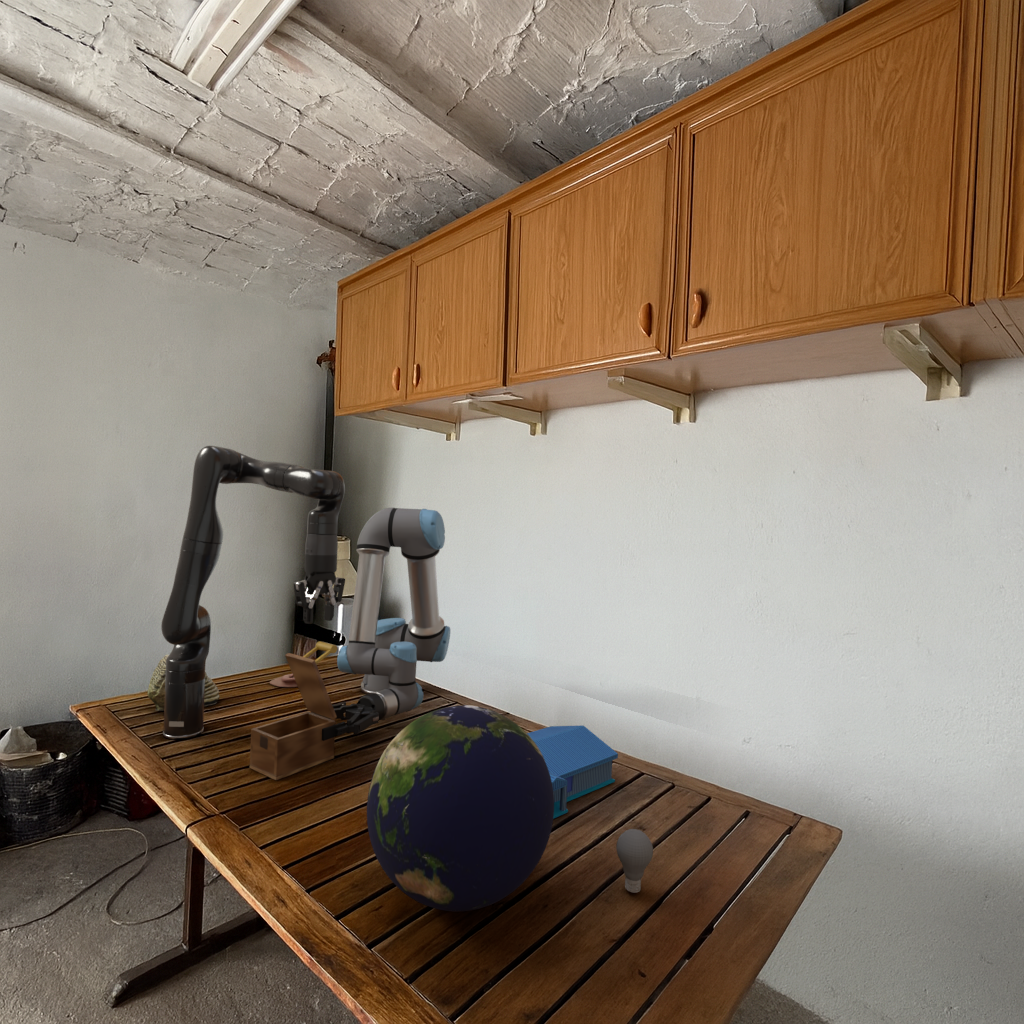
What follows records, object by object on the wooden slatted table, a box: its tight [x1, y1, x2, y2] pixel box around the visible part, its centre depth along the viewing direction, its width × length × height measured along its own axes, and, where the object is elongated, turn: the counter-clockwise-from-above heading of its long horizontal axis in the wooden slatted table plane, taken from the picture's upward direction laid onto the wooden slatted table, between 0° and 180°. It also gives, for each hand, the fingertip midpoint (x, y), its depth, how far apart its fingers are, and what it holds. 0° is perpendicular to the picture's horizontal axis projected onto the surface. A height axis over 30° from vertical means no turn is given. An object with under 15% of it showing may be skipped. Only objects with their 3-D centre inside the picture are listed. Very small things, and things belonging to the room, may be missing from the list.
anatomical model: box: [269, 672, 298, 688], centre depth 212 cm, size 13×4×12 cm
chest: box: [248, 711, 336, 781], centre depth 150 cm, size 16×10×9 cm, turn 146°
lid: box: [284, 640, 338, 721], centre depth 156 cm, size 17×10×9 cm
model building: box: [526, 725, 619, 820], centre depth 140 cm, size 39×24×10 cm, turn 132°
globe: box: [366, 704, 554, 913], centre depth 102 cm, size 30×30×30 cm
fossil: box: [147, 654, 221, 712], centre depth 185 cm, size 9×18×15 cm, turn 132°
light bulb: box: [615, 828, 654, 894], centre depth 106 cm, size 6×6×10 cm
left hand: (318, 621), depth 154 cm, fingers open, 5 cm apart
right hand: (308, 729), depth 153 cm, fingers closed on chest, 10 cm apart
